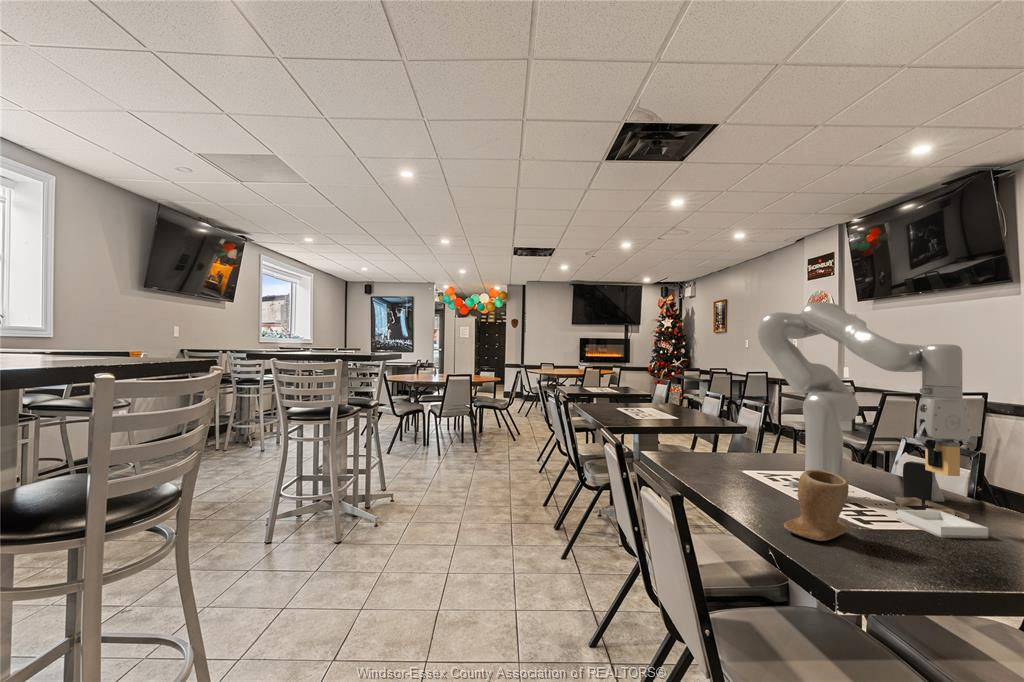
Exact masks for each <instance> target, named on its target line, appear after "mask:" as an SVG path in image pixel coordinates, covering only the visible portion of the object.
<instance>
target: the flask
mask: <svg viewBox="0 0 1024 682" xmlns="http://www.w3.org/2000/svg"><path fill="white" fill-rule="evenodd" d="M933 502H934V503H937V502H945V498H944V495H943V493H942V489H941V488H940V486H939V483H938V481H937V477H936V473H935V472H934V483H933Z"/></svg>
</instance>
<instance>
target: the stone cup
mask: <svg viewBox="0 0 1024 682" xmlns="http://www.w3.org/2000/svg"><path fill="white" fill-rule="evenodd" d="M798 482H799V484H798V488H797V499H798V503H799V507H800V508H799V509H800V516H798V517H795V518H792V519H790V520H788V521H786V522H784V523H783V526H784V529H786V530H787V531H788V532H790V533H793V534H794V535H796V536H800V537H803V538H806V539H809V540H814V541H818V542H825V541H826V542H827V541H829V540H833V539H835V538H837V537H840V536H841V535H844V534H845V533H847V532H849V527H848V526H847V525H846V524H844V523H842V521H841V520H839V518H840V515H841V512H842V511H843V509H844V506H845V504H846V503H847V502H848V501H847V497H848V496H849V483H848V481H847V480H846V479H845V478H844V477H843V478H842V477H841V476H839V475H837V474H834V473H832V472H828V471H824V470H815V469H814V470H807V471H805V470H804V471H803V472H802V473H801V475H800V477H799V479H798Z"/></svg>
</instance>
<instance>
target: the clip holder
mask: <svg viewBox="0 0 1024 682" xmlns="http://www.w3.org/2000/svg"><path fill="white" fill-rule="evenodd" d="M894 502H895V505H896V504H898V505H897V506H899V505H901V506H900V507H905V506H923V505H922V504H923V502H922V500H921V499H918V498H908V497H903V496H902V497H900V496H897V497H896V496H895V500H894ZM924 504H925V506H927V505H928V508H925V510H935V511H943V512H945V513H948V514H951V515H954V516H955V515H956V517H958V516H959V518H962V519H965V520H970V514H968V513H965V512H964V511H963V512H962V511H960V510H956V509H954V508H951V507H949V506H945V505H943V504H940V503H937V502H935V501H933V502H931V501H925V503H924ZM930 506H931V508H929V507H930Z"/></svg>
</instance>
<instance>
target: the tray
mask: <svg viewBox="0 0 1024 682" xmlns="http://www.w3.org/2000/svg"><path fill="white" fill-rule="evenodd" d="M896 519H897V520H898V519H899V520H898V521H900V520H902V521H904V522H903V523H905V522H907V523H909V524H908V525H910V524H911V525H910V526H912V525H913V526H912V527H914V526H915V528H916V529H917V528H918V529H919V530H922V531H925V532H926V533H929V534H932V535H934V536H936V537H939V538H941V539H942V538H943V539H944V538H945V539H946V538H947V539H948V538H949V539H952V538H954V539H989V527H986V526H984V525H981V524H979V523H976V522H972V521H970V520H969V519H964V518H961V517H958V516H954V515H951V514H948V513H945V512H943V511H935V510H926V509H897V511H896ZM902 521H901V522H902ZM907 523H906V524H907Z"/></svg>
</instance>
